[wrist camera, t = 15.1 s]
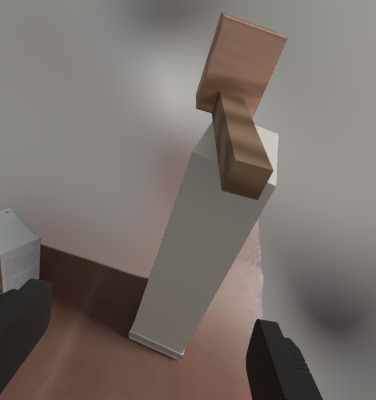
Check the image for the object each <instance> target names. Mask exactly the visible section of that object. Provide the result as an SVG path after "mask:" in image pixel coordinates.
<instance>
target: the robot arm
mask: <svg viewBox="0 0 376 400" xmlns="http://www.w3.org/2000/svg"><path fill="white" fill-rule="evenodd" d="M52 290H53V284H52V282H51V281H45V280H39V279H34V278H31V279H29V280H28V281H27V282H26V283H25V284H24V285H23V286H22V287H20V288H19V289H18V290H17V289H11V290H9V291H7V292H5V293H2V294H0V394H1V392H2V391H3V390H4V388H5V387H6V386H7V384H8V383H9V381H10V380H11V379H12V377H13V376H14V375H15V373H16V372H17V370H18V369H19V368H20V366H21V365H22V363H23V362H24V361H25V359H26V358H27V357H28V355H29V354H30V352H31V351H32V350H33V348H34V347H35V346H36V344H37V343H38V341H39V340H40V339H41V337H42V336H43V334H44V333H45V331H46V329H47V327H48V324H49V320H50V314H51V302H52ZM246 371H247V376H248V381H249V385H250V390H251V395H252V400H323V399H322V397H321V395H320V392H319V390H318V388H317V386H316V384H315V381H314V379H313V377H312V375H311V373H309V368H308V366H307V364H306V363H305V360H304V358H303V355H302V353H301V351H300V349H299V348H298V347H297V346H296V345H295V344H294V343H293V342H292V340H291V339H290V338H284V337H283V335H282V332H281V330H280V327H279V325H278V323H277V322H272V321H266V320H261V319H257V320H256V322H255V325H254V328H253V332H252V336H251V339H250V343H249V347H248V350H247V355H246Z"/></svg>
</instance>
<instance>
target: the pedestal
mask: <svg viewBox="0 0 376 400" xmlns="http://www.w3.org/2000/svg"><path fill="white" fill-rule="evenodd" d="M255 127H256V130H257V132H258V134H259V137H260V139H261V142H262V144H263V146H264V149H265V151H266V153H267V156H268V158H269V161H270V163H271V165H272V168H273V170H274V171H273V173H272V175H271V177H270V178H269V180H268V182H267V184H266V186H265V188H264V190H263V191H262V193H261V195H260V197H259V199H258V200H255V199H251V198H247V197H243V196H240V195H236V194H232V193H228V192H224V191H222V189H221V181H220V173H219V166H218V158H217V150H216V142H215V134H214V127H213V122H212V123H211V125H210V126H209V127H208V129H207V131H206V132H205V133H204V135H203V137H202V138H201V140H200V141H199V143H198V144H197V146H196V147H195V148H194V150H193V151H192V154H191V157H190V160H189V162H188V166H187V169H186V171H185V174H184V177H183V180H182V184H181V186H180V189H179V192H178V195H177V198H176V201H175V204H174V207H173V210H172V212H171V215H170V218H169V221H168V224H167V227H166V230H165V233H164V236H163V239H162V242H161V245H160V248H159V251H158V254H157V257H156V260H155V262H154V265H153V269H152V271H151V274H150V277H149V280H148V283H147V286H146V289H145V292H144V295H143V298H142V301H141V304H140V307H139V309H138V312H137V315H136V318H135V321H134V323H133V325H132V327H131V329H130V331H129V334H128V335H129V339H132V340H134V341H136V342H138V343H141V344H143V345H145V346H147V347H149V348H152V349H154V350H156V351H158V352H161V353H163V354H165V355H167V356H170V357H172V358H174V359H176V360H179V358H180V359H181V358H182V356H183V354H184V350H185V348H186V346H187V344H188V342H189V340H190V339H191V337H192V335H193V333H194V331H195V330H196V328H197V326H198V324H199V323H200V321H201V319H202V317H203V315H204V314H205V312H206V310H207V308H208V307H209V305H210V303H211V301H212V299H213V298H214V296H215V294H216V292H217V291H218V289H219V287H220V285H221V283H222V282H223V280H224V278H225V276H226V274H227V273H228V271H229V269H230V267H231V266H232V264H233V262H234V260H235V258H236V257H237V255H238V253H239V251H240V250H241V248H242V246H243V244H244V242H245V241H246V239H247V237H248V235H249V233H250V232H251V230H252V228H253V226H254V225H255V223H256V221H257V219H258V217H259V216H260V214H261V212H262V210H263V208H264V207H265V205H266V203H267V201H268V200H269V198H270V196H271V194H272V193H273V191H274V189H275V187H276V176H277V153H278V152H277V151H278V134H276V133H273V132H271V131H268V130H266V129H263V128H260V127H258V126H256V125H255Z"/></svg>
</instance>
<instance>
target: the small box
mask: <svg viewBox="0 0 376 400" xmlns="http://www.w3.org/2000/svg"><path fill="white" fill-rule="evenodd" d="M40 240H41V238H40V237H39V236H38V235H36V234H35V233H34V232H33V231H32V230H31V229H30V228H29V227H28V226H27V225H26V224H25V223H24V222H23V221H22V220H21V219H20V218H19V217H18V216H17V214H16V213H15V212H14V211H13V210H12V209H11V208H10V207H9V208H6V209H3V210H0V294H2V293H5V292H7V291H9V290H11V289H17V290H18V289H19V288H20V287H22V286H23V285H24V284H25V283H26V282H27V281H28V280H29V279H31V278H34V279H39V268H40Z"/></svg>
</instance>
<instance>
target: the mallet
mask: <svg viewBox="0 0 376 400" xmlns="http://www.w3.org/2000/svg"><path fill="white" fill-rule="evenodd" d="M286 41H287V38H285V37H284V36H282V35H280V34H279V33H277V32H275V31H273V30H270V29H267V28H264V27H261V26H259V25H256V24H253V23H250V22H247V21H245V20H242V19H239V18H236V17H233V16H231V15H228V14H225V13H221V16H220V18H219V22H218V25H217V28H216V31H215V35H214V38H213V41H212V44H211V48H210V51H209V54H208V57H207V60H206V64H205V67H204V70H203V73H202V77H201V80H200V83H199V86H198V90H197V93H196V109H199V110H202V111H206V112H209V113H212V119H213V127H214V134H215V142H216V150H217V158H218V166H219V173H220V181H221V189H222V191H224V192H228V193H232V194H236V195H240V196H243V197H247V198H251V199H255V200H258V199H259V197H260V195H261V193H262V191H263V190H264V188H265V186H266V184H267V182H268V180H269V178H270V177H271V175H272V173H273V171H274V170H273V168H272V165H271V163H270V161H269V158H268V156H267V153H266V151H265V149H264V146H263V144H262V142H261V139H260V137H259V134H258V132H257V130H256V127H255V125H254V123H253V120H252V118H253V116H254V114H255V112H256V109H257V107H258V104H259V102H260V100H261V98H262V96H263V93H264V91H265V89H266V86H267V84H268V82H269V80H270V77H271V75H272V73H273V70H274V68H275V66H276V64H277V61H278V59H279V57H280V54H281V52H282V50H283V48H284V45H285V43H286Z"/></svg>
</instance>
